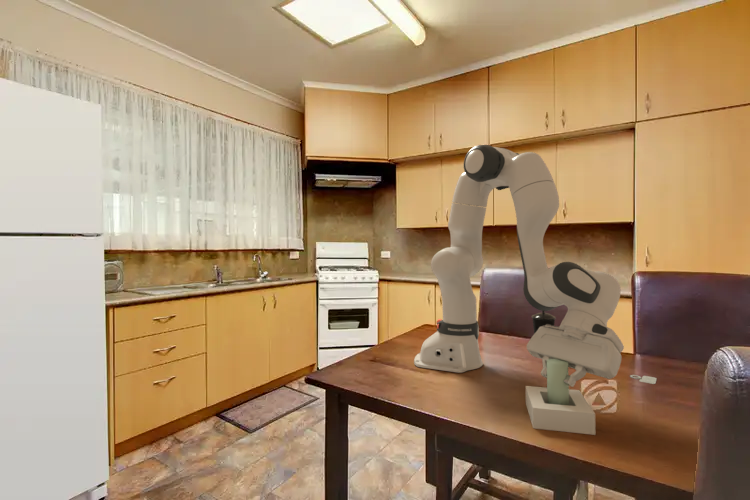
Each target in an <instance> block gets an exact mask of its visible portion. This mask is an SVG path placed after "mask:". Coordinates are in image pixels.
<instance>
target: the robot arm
mask: <svg viewBox="0 0 750 500" xmlns="http://www.w3.org/2000/svg"><path fill="white" fill-rule="evenodd" d="M463 170H464V171H463V172H462V173H461V174H460V175H459V177H458V180H457V183H456V185H455V188H454V192H453V195H452V200H451V205H450V212H449V218H448V223H447V228H448V230H449V234H450V236H449V237H450V247H444V248H442V249H441V250H439V251H437V252H436V253H435V254H434V255H433V256H432V258H431V262H430V267H431V272H432V274H433V276H435V277H436V279H437V283H438V285H439V290H440V293H441V300H442V301H441V304H442V318H438V319H437V320H436V331H435V332H434V333H433V334H432V335H429V336H428V337H427V338H426V339H425V340H424V341H423V343H422V345H421V348H420V352H419V353H417V354H416V355H415V357H414V359H413V363H414V365H415V366H416V367H418V368H423V369H432V370H439V371H445V372H452V373H459V374H462V373H465V372H468V371H471V370H476V369H479V368H481V367H482V366H483V364H484V363H483V359H482V356H481V352H480V347H479V335H480V333H479V331H480V330H479V329H480V328H479V327H480V326H479V321H478V318H477V315H478V312H477V310H478V309H477V297H476V294H475V293H474V291H473V287H472V282H471V278H472V277H474V276H476V275H477V274H478V273H479V272H480V271H481V270H482V268H483V265H484V258H483V253H482V252H483V240H482V239H483V228H484V221H485V218H486V217H485V216H486V212H487V206H488V200H489V196H490V193H491V192H492V191H493V190H494V189H496V190H497V191H502V190H505V189H509V191H510V194H511V199H512V202H513V207H514V210H515V217H516V236H517V242H518V248H519V253H520V258H521V263H522V267H523V275H524V277H523V278H524V279H523V280H524V281H523V295H524V297H525V300H526V301H527V302H528V304H529V305H530V306H532V308H534V309H536V310H538V311H540V312H542V311H544V312H549V311H552V310H555V309H556V308H559V307H560V306H563V305H564V306H565V307H567V311H566V313H565V316H564V317H563V319H562V321H561V323H560V325H559V326H557V325H554V326H552V325H549V324H546V325H544V326H541V327H539V329H538V330H537V331H536V333H535V334H534V333H533V335H532V336H531V338H530V339H529V341H528V342H527V343H526V350H527V351H528V352H529V354H531V356H532V357H533V358H537V359H540V360H542V369H541V371H540V375H541V376H542V377H543V378H546V379H547V360H548V359H559V360H563V361H566V362H568V368H571V369H574V370H575V371H574V372H572V373H571V374H570V375H566V378H565V379H564V383H566V385H569V387H573V388H574V386H575V385H576V383H577V381H579V380H581V379H583V378H584V377H586V374H590V375H595V376H598V377H601V378H604V379H608V380H611V379H613V378H615V377H616V376H617V375H618V373H619V369H620V367H621V363H622V355H621V353H622V352H623V351H624V348H625V345H624V344H623V342H622V340H621V339H620V337H619V336H618V334H617V333H616V332H615V331H614V330H613V329H612V328H610V327H608V322H609V320H610V319H611V318H612V317H613V316H614V313H615V311H616V309H617V307H618V304H619V301H620V298H621V291H622V290H621V284H620V283H619V281H618V280H617V279H616V278H615V277H614V276H612V275H611V274H609V273H607V272H604V271H599V270H595V271H592V270H588V269H585V268H584V267H582V266H581V265H579V264H577V263H575V262H572V261H562V262H560V263H557V264H555V265H553V266H552V267H549V268H548V263H547V257H546V253H545V249H544V236H545V233H546V231H547V229H548V227H549V225H550V224H551V222H552V221H553V219H554V218H555V216H556V215H557V213H558V211H559V208H560V197H559V192H558V189H557V187H556V184H555V181H554V179H553V175H552V174H551V171H550V170H549V167H548V166H547V164H546V163H545V160H544V159H543V158H542V156H541V155H540V154H538V153H536V152H533V151H528V152H527V151H526V152H522V153H518V152H514V151H512V150H510V149H507V148H504V147H497V146H492V145H489V144H478V145H476V146H473V147H472V148H471V149H469V151H468V152H467V153H466V154H465V157H464V160H463Z"/></svg>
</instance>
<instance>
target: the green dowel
mask: <svg viewBox="0 0 750 500" xmlns="http://www.w3.org/2000/svg"><path fill="white" fill-rule="evenodd" d="M566 375H569V367H568V362H566V361H563V360H559V359H548V360H547V378H546V384H547V385H546V386H547V387H546V388H547V397H548V404H557V405H569V389H570V386H569V385H566V383H564V379H565V378H566Z"/></svg>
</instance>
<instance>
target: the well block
mask: <svg viewBox="0 0 750 500" xmlns="http://www.w3.org/2000/svg"><path fill="white" fill-rule="evenodd" d="M525 406H526V409H527V411H528V415H529V420H530V422H531V425H532V429H537V430H546V431H555V432H557V431H558V432H564V433H565V432H567V433H572V434H573V433H575V434H585V435H594V436H596V413H595V411H594V410H593V407H592V406H591V405H590V404H589V401H587V399H586V397H585V396H584V395H583V394H582V392H581V391H580V390H579V389H570V388H569V405H557V404H548V397H547V387H546V386H545V387H544V386H542V387H541V386H530V385H525Z"/></svg>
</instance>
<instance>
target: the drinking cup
mask: <svg viewBox="0 0 750 500" xmlns="http://www.w3.org/2000/svg"><path fill="white" fill-rule="evenodd" d="M531 318H532V325H533V335H534V334H535V333H536V331H537V330H538V329H539V327H541V326H544V325H546V324H549V325H552V326H555V322H556V321H555V320H556V319H557V318H556V316H554V315H552V314H551V313H547V312H546V311H541V312H538V313H535V314H532V315H531Z"/></svg>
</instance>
